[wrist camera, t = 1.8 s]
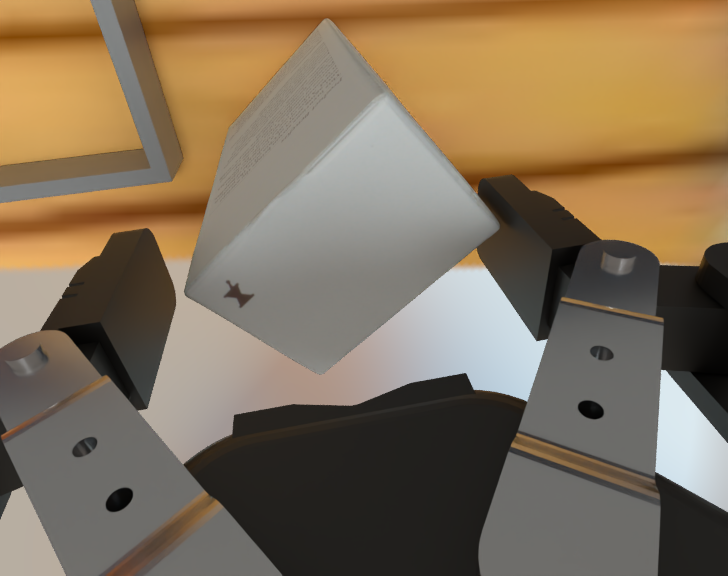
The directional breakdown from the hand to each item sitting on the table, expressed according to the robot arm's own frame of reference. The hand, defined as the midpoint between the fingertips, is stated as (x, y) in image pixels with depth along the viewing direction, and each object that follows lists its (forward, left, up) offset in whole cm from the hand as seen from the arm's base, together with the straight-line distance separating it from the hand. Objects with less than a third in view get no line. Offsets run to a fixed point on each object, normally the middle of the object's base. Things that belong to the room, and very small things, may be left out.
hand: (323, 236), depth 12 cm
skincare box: (0, 0, -10) cm, 10 cm away
